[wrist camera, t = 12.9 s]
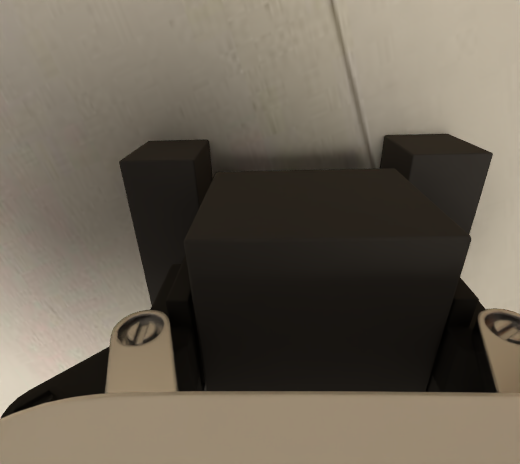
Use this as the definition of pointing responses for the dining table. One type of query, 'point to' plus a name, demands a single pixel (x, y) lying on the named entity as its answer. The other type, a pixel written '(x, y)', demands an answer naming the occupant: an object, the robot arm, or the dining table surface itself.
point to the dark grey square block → (321, 280)
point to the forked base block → (200, 177)
